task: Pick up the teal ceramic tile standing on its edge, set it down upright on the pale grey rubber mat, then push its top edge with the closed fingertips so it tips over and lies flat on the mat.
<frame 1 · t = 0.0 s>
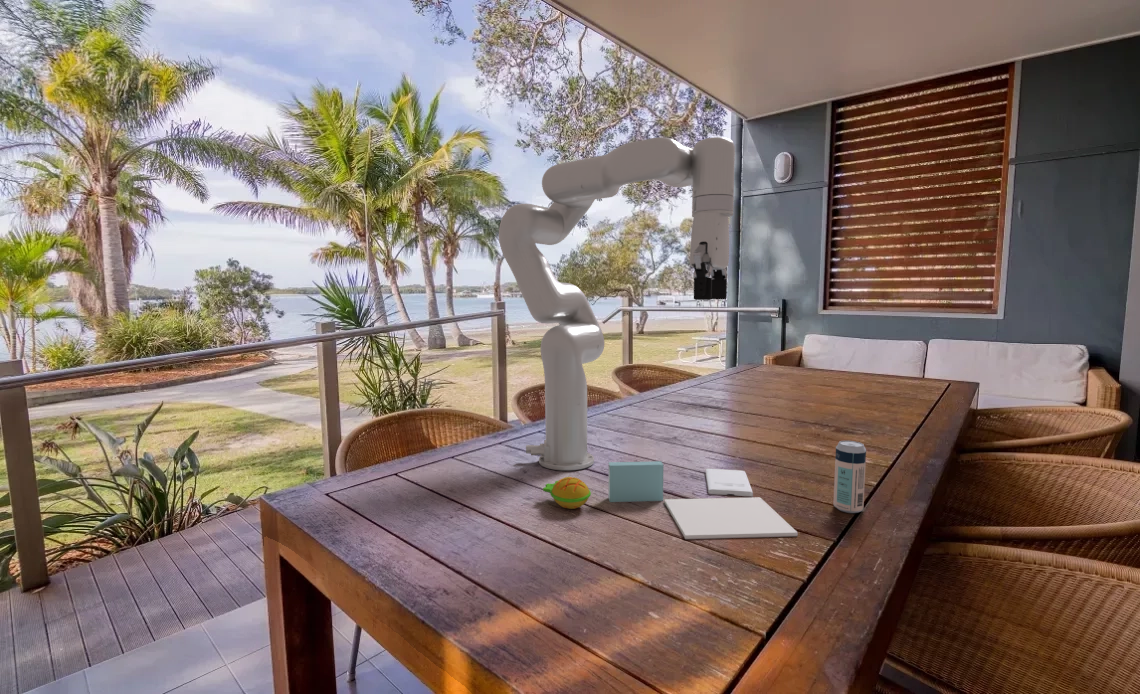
hand: (710, 299, 103), 37 cm above the table, tool pointing down, fingers open, 9 cm apart
mat: (725, 518, 93), on the table
yellow green rounded piece: (566, 506, 99), on the table
tile: (635, 499, 102), on the table
external hard drive: (727, 487, 110), on the table
beer can: (848, 510, 97), on the table
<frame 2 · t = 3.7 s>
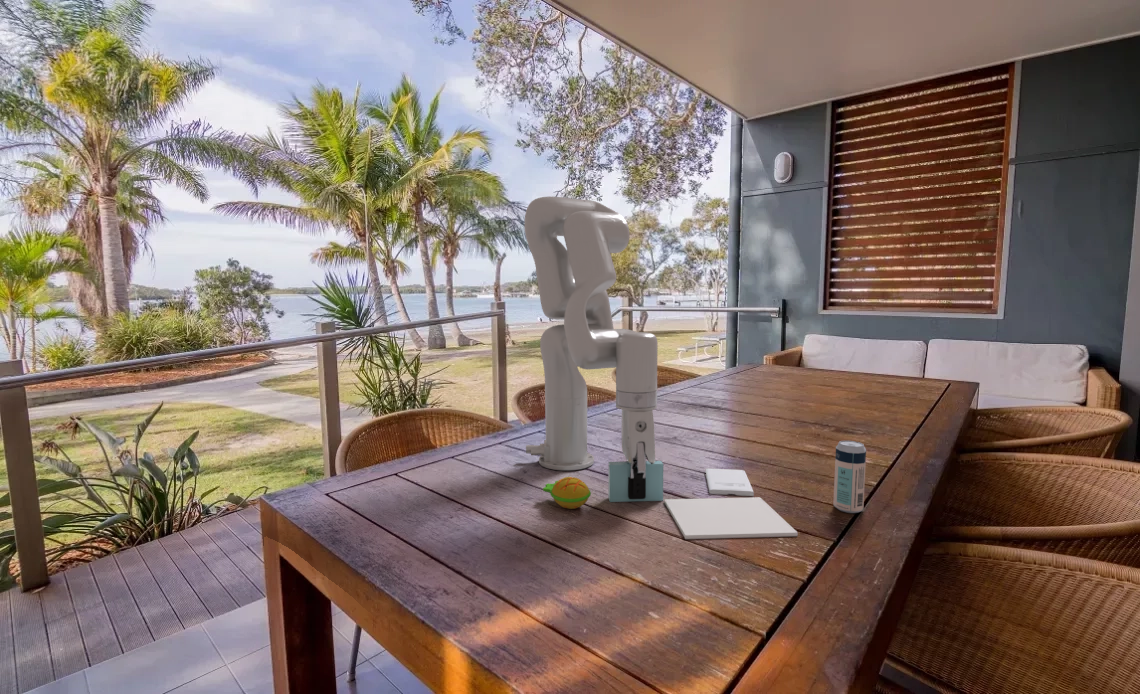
hand: (635, 495, 102), 1 cm above the table, tool pointing down, fingers closed on tile, 1 cm apart
tile: (635, 499, 102), on the table, touching gripper
everything else where it was.
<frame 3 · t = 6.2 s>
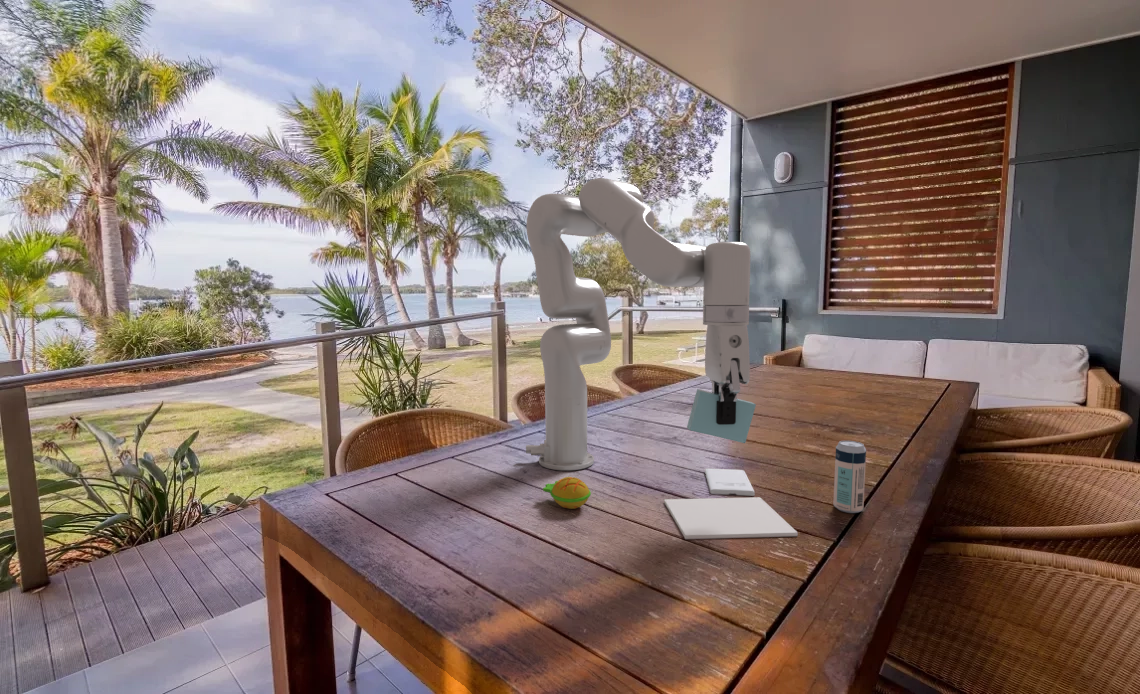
hand: (723, 421, 94), 16 cm above the table, tool pointing down, fingers closed on tile
tile: (715, 435, 94), point 14 cm above the table, tilted 14°, touching gripper
everything else where it was.
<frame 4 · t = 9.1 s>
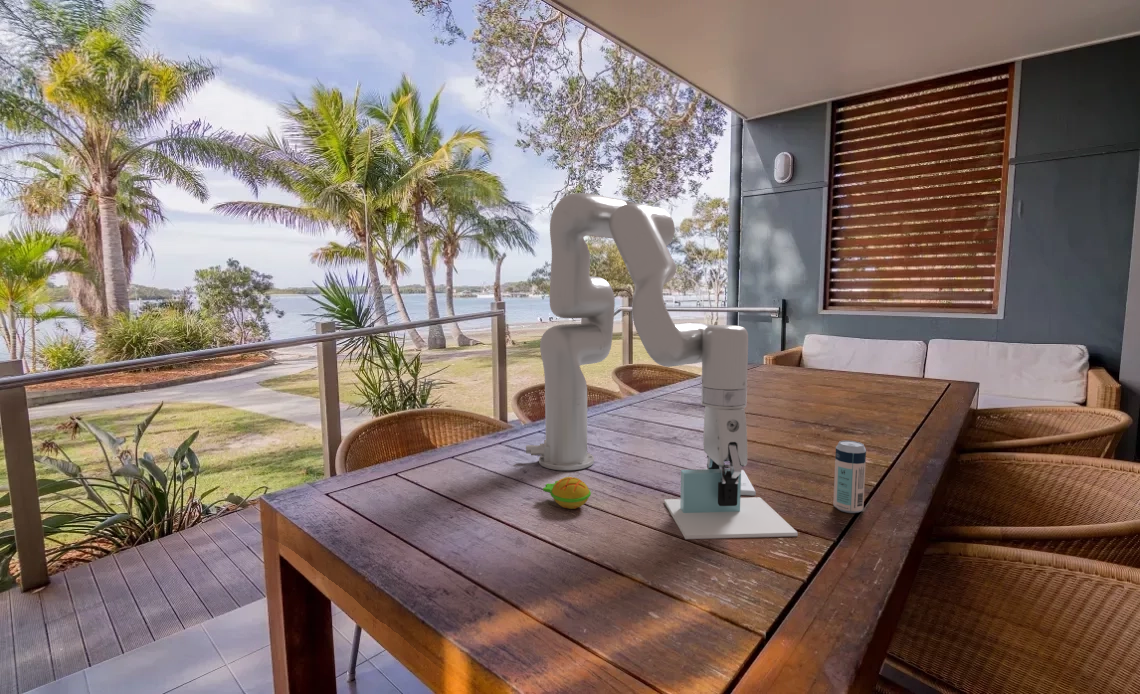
hand: (721, 497, 95), 3 cm above the table, tool pointing down, fingers open, 5 cm apart
tile: (709, 509, 95), point 1 cm above the table, touching mat
everything else where it was.
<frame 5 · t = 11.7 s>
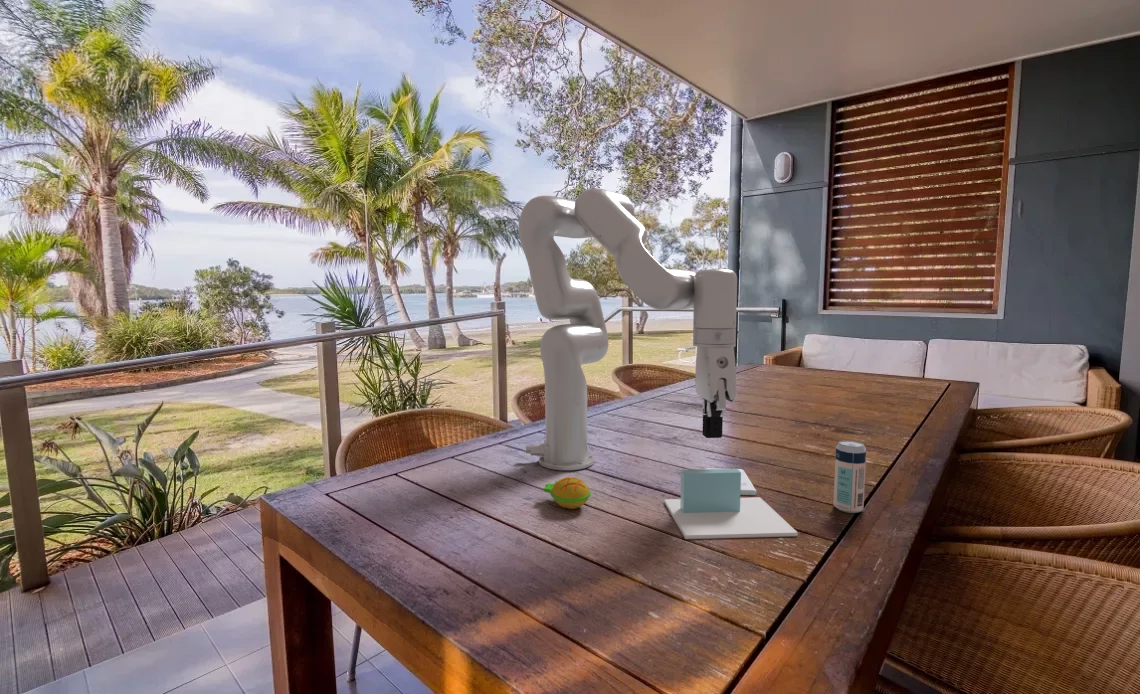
hand: (712, 436, 100), 12 cm above the table, tool pointing down, fingers closed
nothing on the table moved.
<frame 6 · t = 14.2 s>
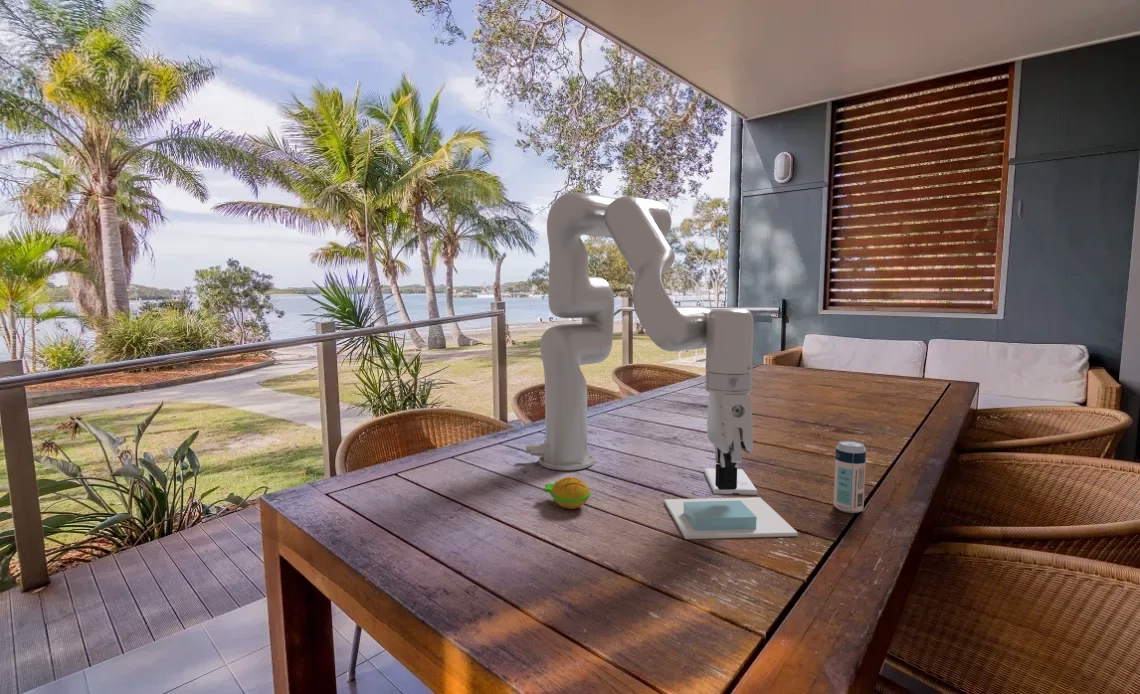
hand: (725, 487, 93), 5 cm above the table, tool pointing down, fingers closed
tile: (712, 506, 94), point 2 cm above the table, tilted 90°, touching mat
everything else where it was.
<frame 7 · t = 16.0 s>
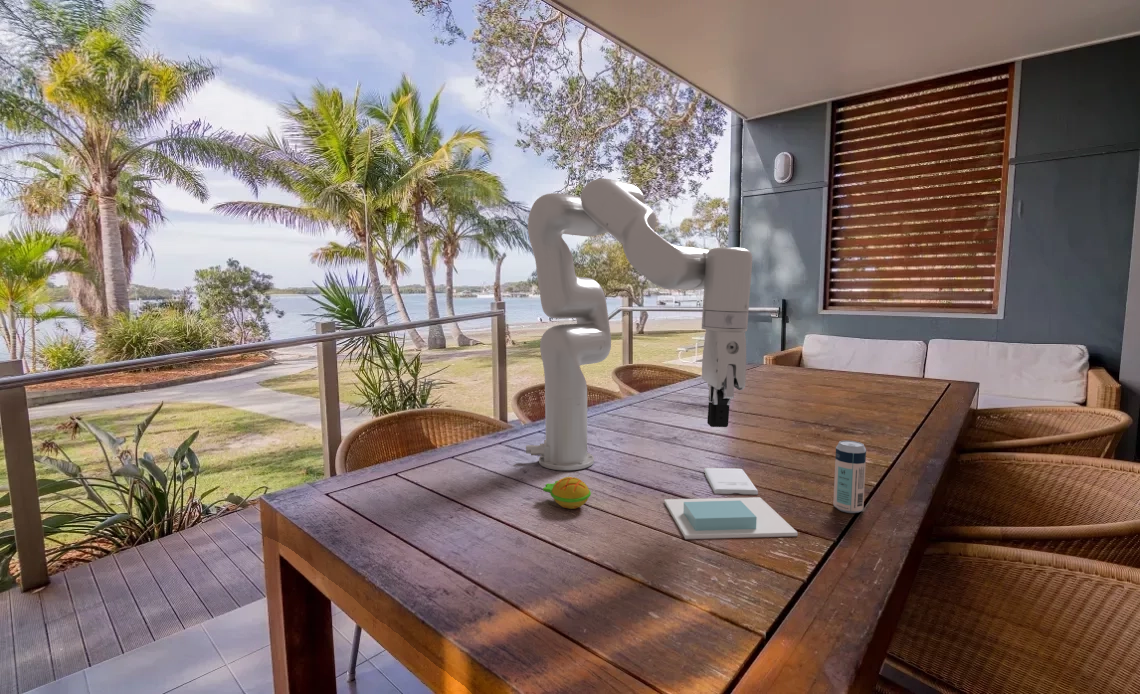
hand: (717, 425, 95), 15 cm above the table, tool pointing down, fingers closed
nothing on the table moved.
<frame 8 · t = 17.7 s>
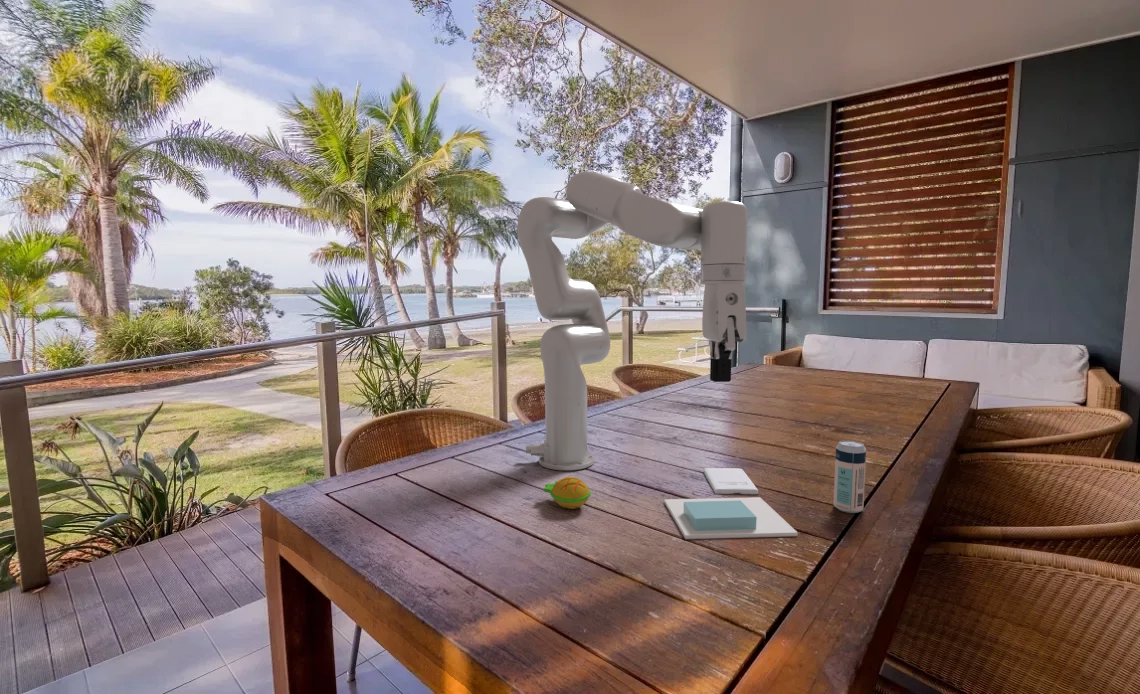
hand: (720, 380, 95), 23 cm above the table, tool pointing down, fingers closed
nothing on the table moved.
at the end: tile tilted 90°; tile inside the target area (2.4 cm from its centre), point 1.6 cm above the table; the gripper is holding nothing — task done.
